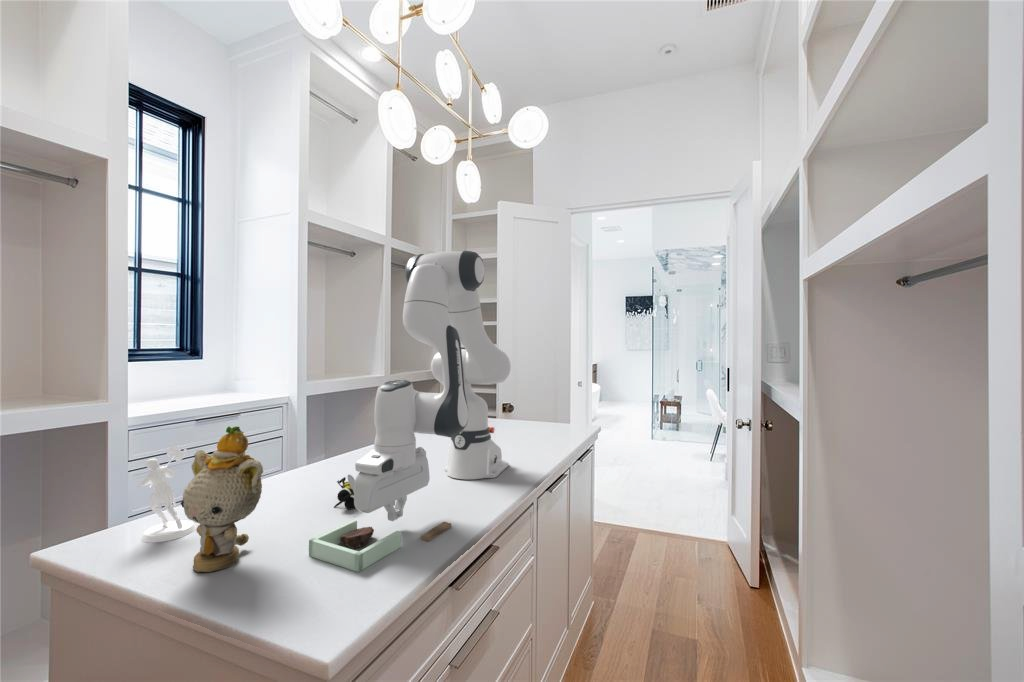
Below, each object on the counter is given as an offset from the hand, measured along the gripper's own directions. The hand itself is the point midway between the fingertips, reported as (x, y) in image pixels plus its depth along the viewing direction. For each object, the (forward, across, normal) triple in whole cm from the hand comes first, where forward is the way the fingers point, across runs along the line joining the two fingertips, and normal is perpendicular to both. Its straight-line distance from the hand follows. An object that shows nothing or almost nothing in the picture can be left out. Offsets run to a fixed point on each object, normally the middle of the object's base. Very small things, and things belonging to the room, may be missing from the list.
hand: (395, 518), depth 96 cm
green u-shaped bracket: (+2, +11, 0) cm, 12 cm away
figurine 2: (+2, +26, -18) cm, 32 cm away
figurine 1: (+2, +23, -42) cm, 48 cm away
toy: (+3, -7, -22) cm, 23 cm away
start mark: (+2, -3, +9) cm, 10 cm away
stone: (+3, +8, -2) cm, 9 cm away
